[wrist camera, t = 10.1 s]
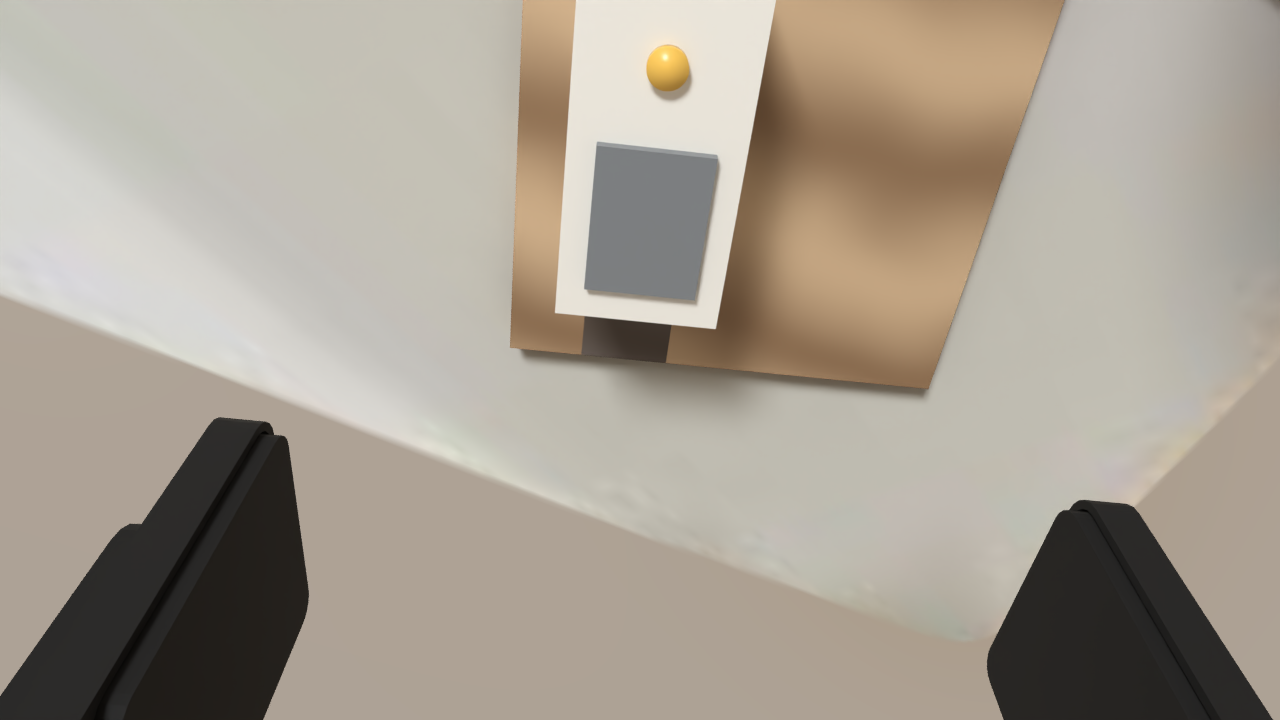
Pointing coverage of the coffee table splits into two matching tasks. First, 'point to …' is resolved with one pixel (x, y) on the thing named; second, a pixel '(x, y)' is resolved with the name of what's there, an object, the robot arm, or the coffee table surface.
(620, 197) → the stud finder
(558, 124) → the subfloor board
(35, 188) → the coffee table surface
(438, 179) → the coffee table surface
